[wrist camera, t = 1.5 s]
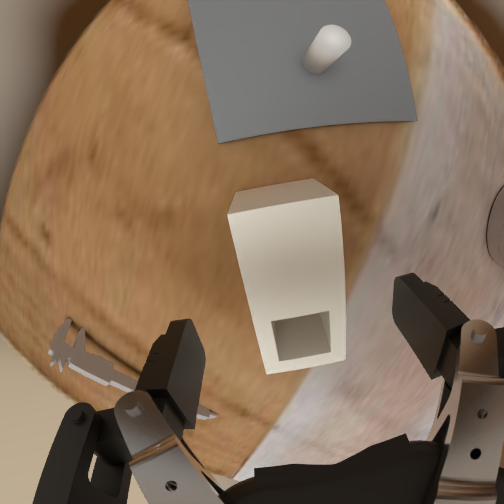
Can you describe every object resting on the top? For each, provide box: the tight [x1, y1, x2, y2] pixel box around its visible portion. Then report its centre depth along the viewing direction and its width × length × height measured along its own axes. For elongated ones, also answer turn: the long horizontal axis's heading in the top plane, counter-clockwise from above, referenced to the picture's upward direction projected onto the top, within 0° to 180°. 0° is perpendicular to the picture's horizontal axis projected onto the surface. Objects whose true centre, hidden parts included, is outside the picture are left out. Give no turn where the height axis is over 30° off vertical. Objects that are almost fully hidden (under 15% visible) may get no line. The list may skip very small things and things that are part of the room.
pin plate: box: [188, 0, 418, 144], centre depth 11 cm, size 14×14×6 cm
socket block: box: [227, 178, 346, 374], centre depth 18 cm, size 5×11×6 cm, turn 11°
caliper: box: [48, 319, 218, 420], centre depth 23 cm, size 20×1×6 cm, turn 48°
